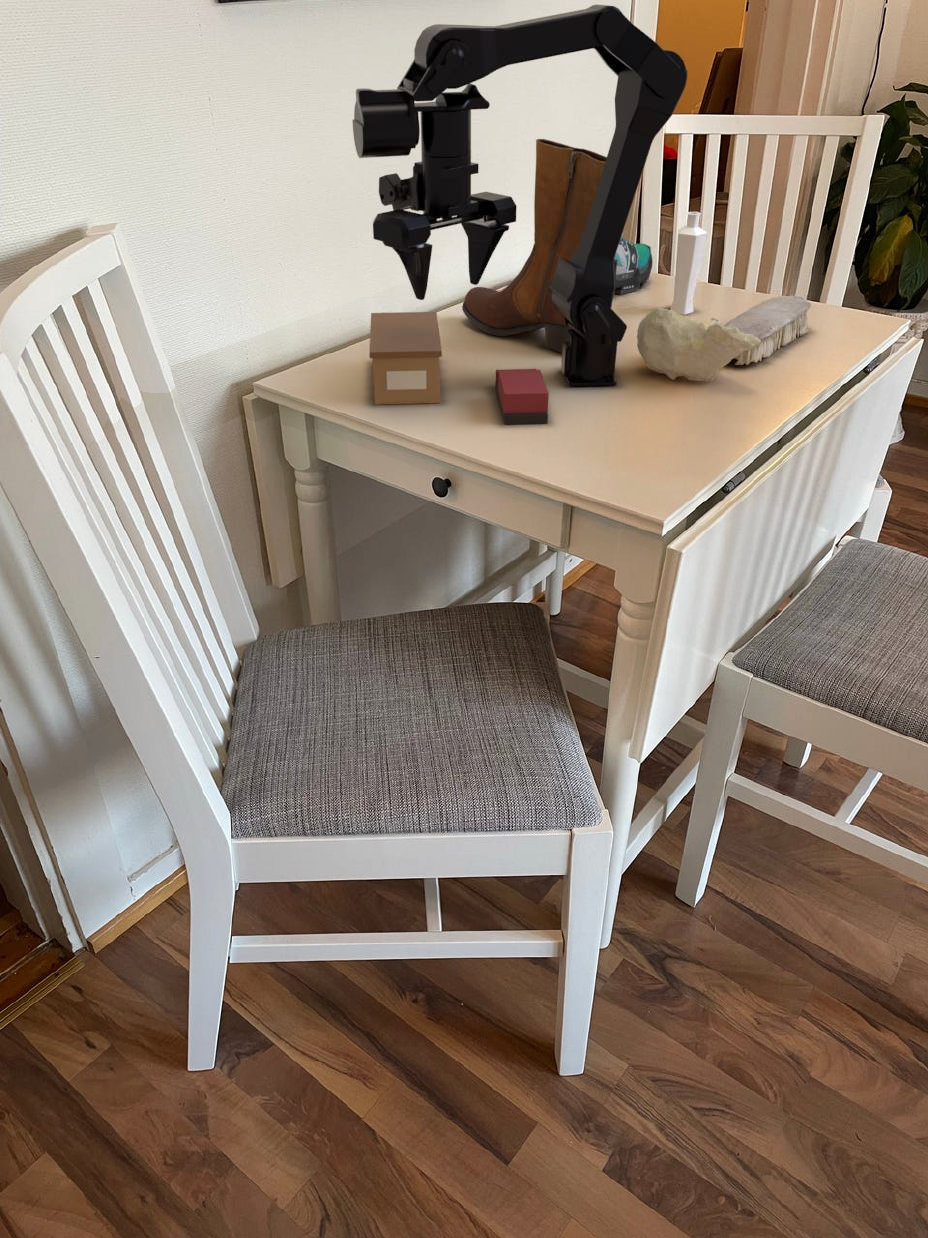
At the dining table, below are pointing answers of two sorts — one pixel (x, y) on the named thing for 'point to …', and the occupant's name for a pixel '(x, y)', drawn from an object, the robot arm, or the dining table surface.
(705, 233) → the perfume bottle
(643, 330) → the beige lumpy irregular piece
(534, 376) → the dark red two-tone block
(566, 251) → the boot
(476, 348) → the dining table surface
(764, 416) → the dining table surface
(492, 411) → the dining table surface
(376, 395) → the shoebox
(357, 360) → the dining table surface
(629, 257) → the sneaker
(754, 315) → the shoe brush
